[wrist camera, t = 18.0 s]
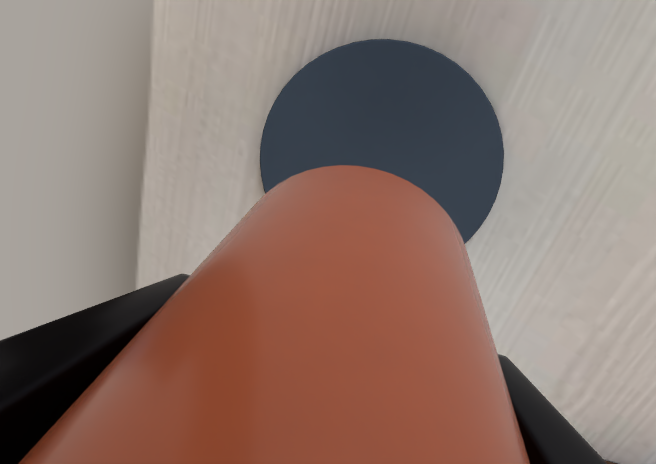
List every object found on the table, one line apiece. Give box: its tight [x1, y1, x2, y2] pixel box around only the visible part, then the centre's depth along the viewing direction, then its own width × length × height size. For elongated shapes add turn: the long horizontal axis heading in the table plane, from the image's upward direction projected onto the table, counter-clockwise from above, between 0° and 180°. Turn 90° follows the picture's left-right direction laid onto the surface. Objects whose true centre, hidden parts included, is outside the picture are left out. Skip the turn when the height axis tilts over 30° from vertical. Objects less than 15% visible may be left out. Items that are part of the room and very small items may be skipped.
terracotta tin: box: [19, 165, 530, 464], centre depth 6 cm, size 6×6×8 cm
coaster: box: [260, 39, 504, 244], centre depth 17 cm, size 10×10×1 cm
